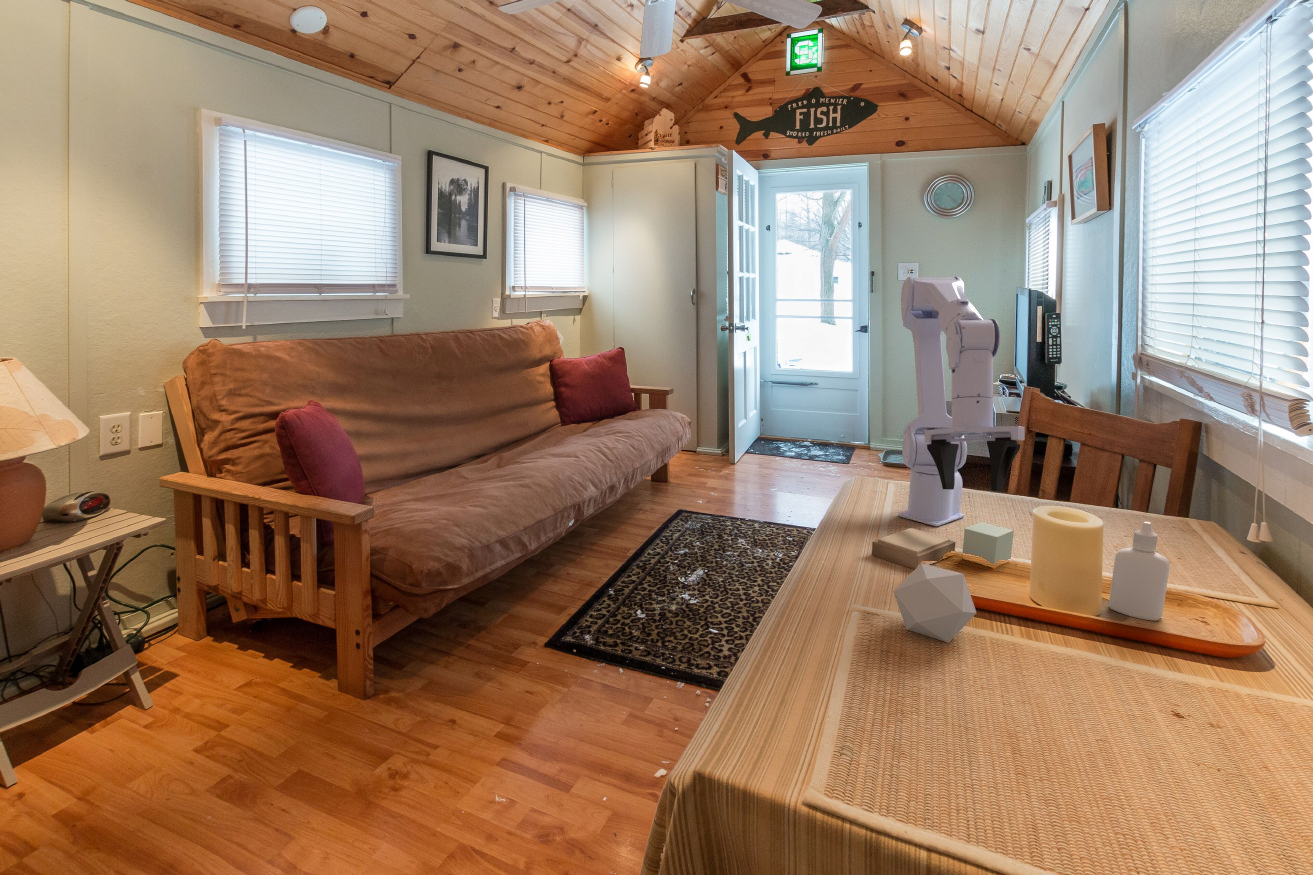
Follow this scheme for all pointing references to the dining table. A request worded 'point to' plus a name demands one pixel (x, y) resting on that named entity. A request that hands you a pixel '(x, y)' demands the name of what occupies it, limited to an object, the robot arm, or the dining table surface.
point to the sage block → (988, 542)
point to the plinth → (912, 547)
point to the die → (935, 602)
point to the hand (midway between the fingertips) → (972, 490)
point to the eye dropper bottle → (1140, 578)
